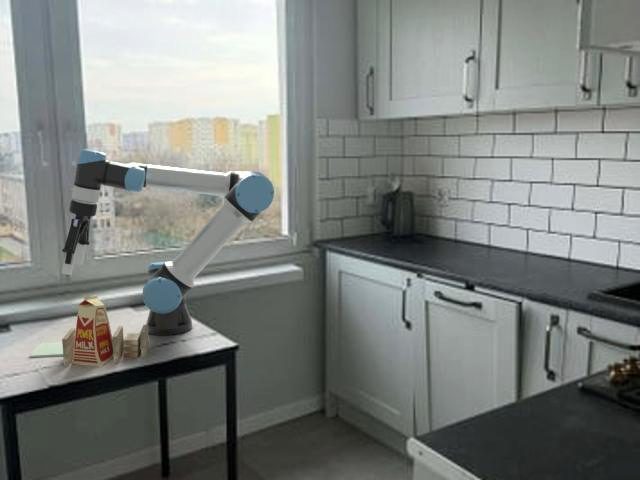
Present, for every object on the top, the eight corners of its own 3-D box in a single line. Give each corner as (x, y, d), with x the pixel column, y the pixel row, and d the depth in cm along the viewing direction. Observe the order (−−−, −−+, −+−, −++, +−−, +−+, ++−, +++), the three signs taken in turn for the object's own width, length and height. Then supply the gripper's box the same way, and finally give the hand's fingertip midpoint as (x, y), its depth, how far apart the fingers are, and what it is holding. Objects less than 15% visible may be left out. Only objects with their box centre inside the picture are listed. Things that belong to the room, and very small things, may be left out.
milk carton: (100, 366, 170) (95, 298, 167) (71, 364, 172) (65, 296, 169) (117, 355, 179) (112, 290, 176) (89, 353, 181) (84, 288, 177)
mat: (77, 343, 189) (77, 341, 189) (68, 355, 179) (68, 353, 179) (40, 345, 188) (40, 343, 188) (29, 357, 177) (29, 355, 177)
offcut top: (140, 339, 182) (140, 333, 182) (137, 346, 176) (137, 339, 176) (127, 339, 182) (127, 333, 181) (123, 346, 176) (123, 340, 175)
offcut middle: (140, 345, 183) (140, 339, 182) (137, 352, 177) (137, 345, 176) (127, 346, 182) (126, 339, 182) (123, 353, 176) (123, 346, 176)
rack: (148, 349, 184) (147, 324, 182) (144, 361, 174) (142, 335, 172) (73, 353, 180) (71, 328, 179) (64, 366, 171) (62, 339, 169)
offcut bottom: (140, 351, 183) (140, 345, 183) (137, 358, 177) (137, 352, 177) (127, 352, 182) (126, 346, 182) (123, 359, 176) (123, 353, 176)
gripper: (81, 194, 191) (70, 258, 194) (60, 203, 167) (47, 275, 169) (105, 199, 192) (94, 263, 195) (87, 208, 168) (74, 280, 171)
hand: (72, 269), depth 182 cm, fingers open, 13 cm apart
